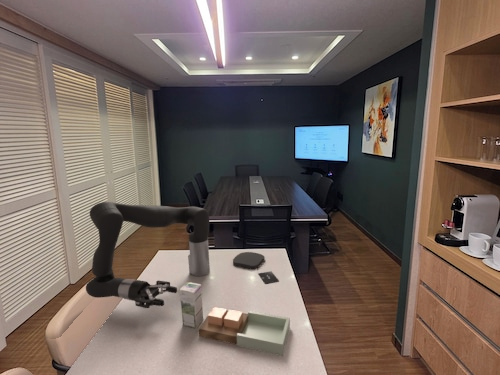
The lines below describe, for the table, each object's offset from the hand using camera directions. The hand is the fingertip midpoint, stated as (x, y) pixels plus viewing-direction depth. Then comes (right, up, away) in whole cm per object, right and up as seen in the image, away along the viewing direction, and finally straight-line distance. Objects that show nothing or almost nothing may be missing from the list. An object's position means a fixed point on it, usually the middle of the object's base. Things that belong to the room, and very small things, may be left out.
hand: (170, 296), depth 104 cm
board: (+20, -10, -5) cm, 23 cm away
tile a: (+18, -7, -4) cm, 20 cm away
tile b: (+24, -7, -6) cm, 26 cm away
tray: (+34, -10, -9) cm, 36 cm away
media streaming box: (+29, 0, +46) cm, 55 cm away
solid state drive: (+38, -3, +30) cm, 49 cm away
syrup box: (+9, -9, -1) cm, 13 cm away
